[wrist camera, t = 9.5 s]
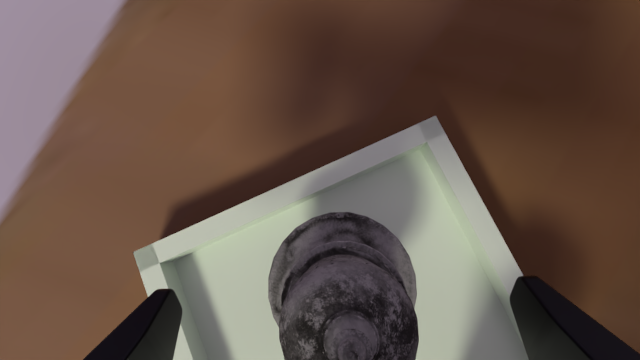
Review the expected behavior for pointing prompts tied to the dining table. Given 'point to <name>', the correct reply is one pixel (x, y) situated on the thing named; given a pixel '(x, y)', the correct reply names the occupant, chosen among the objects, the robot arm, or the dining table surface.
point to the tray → (364, 199)
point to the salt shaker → (344, 291)
